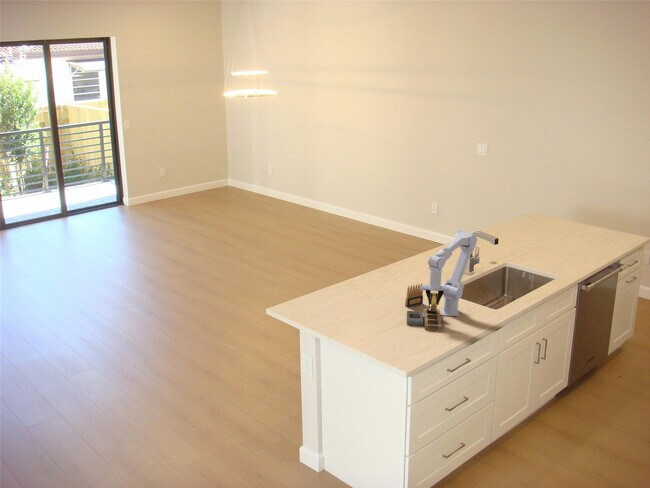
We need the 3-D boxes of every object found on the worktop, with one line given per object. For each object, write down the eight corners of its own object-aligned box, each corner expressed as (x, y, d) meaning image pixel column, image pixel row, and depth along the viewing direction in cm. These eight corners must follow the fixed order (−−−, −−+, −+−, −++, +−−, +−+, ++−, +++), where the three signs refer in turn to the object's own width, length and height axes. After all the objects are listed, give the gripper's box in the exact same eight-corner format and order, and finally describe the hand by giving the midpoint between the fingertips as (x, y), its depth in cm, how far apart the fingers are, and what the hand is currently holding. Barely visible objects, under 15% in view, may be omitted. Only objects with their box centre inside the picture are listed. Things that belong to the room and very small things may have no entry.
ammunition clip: (407, 307, 383) (408, 286, 379) (405, 306, 384) (406, 285, 380) (422, 303, 388) (424, 283, 384) (420, 302, 390) (422, 282, 386)
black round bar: (428, 314, 375) (429, 298, 372) (435, 315, 374) (436, 299, 371) (428, 317, 371) (429, 301, 368) (435, 317, 371) (436, 301, 368)
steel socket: (406, 315, 373) (406, 310, 372) (422, 316, 373) (422, 311, 372) (406, 324, 362) (407, 320, 361) (422, 325, 361) (423, 321, 360)
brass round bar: (429, 308, 366) (430, 292, 363) (436, 308, 366) (437, 292, 363) (429, 311, 363) (430, 294, 360) (436, 311, 362) (438, 295, 360)
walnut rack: (423, 312, 377) (424, 308, 376) (439, 313, 376) (439, 309, 375) (424, 329, 357) (425, 325, 356) (441, 330, 356) (441, 326, 355)
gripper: (420, 281, 356) (419, 306, 360) (450, 282, 355) (448, 307, 359) (420, 275, 363) (419, 300, 367) (449, 277, 361) (447, 302, 366)
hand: (433, 303), depth 363 cm, fingers closed on brass round bar, 4 cm apart
